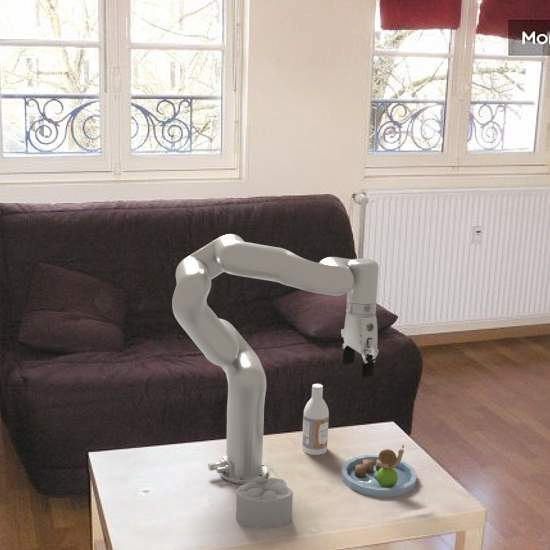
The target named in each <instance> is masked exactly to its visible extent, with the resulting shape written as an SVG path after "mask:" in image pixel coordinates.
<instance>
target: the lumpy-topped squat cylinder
mask: <svg viewBox="0 0 550 550" xmlns="http://www.w3.org/2000/svg"><path fill="white" fill-rule="evenodd" d="M293 495H294V493H293V490H292V489H291V488H290V487H288V485H287V483H286V480H284V479H281V478H277V477H268V478H267V477H266V478H265V477H263V476H257V477H255V478H254V479H253V480H252V481H249V482H247V483H245V484H241V485H240V486H239V487H238V488H237V490H236V502H235V503H236V506H235V521H236V522H237V523H239V524H240V525H241V526H244V527H248V528H249V527H250V528H252V529H269V528H270V529H271V528H276V527H280V526H284V525H287V524H289V523H291V522H292V519H293Z"/></svg>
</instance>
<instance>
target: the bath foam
mask: <svg viewBox="0 0 550 550" xmlns="http://www.w3.org/2000/svg"><path fill="white" fill-rule="evenodd" d="M311 385H312V386H311V398H310V399H309V400H308V401H307V403H306V405H305V407H304V409H303V418H302V419H303V420H302V440H301V441H302V443H301V445H302V446H301V450H302V452H304V453H305V454H307V455H310V456H311V455H312V456H320V455H321V456H322V455H324V454H325V453H327V451H328V436H329V435H328V434H329V418H330V411H329V407H328V405H327V403H326V401H325V400H324V398H323V391H324V385H322V384H321V383H313V384H311Z"/></svg>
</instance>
